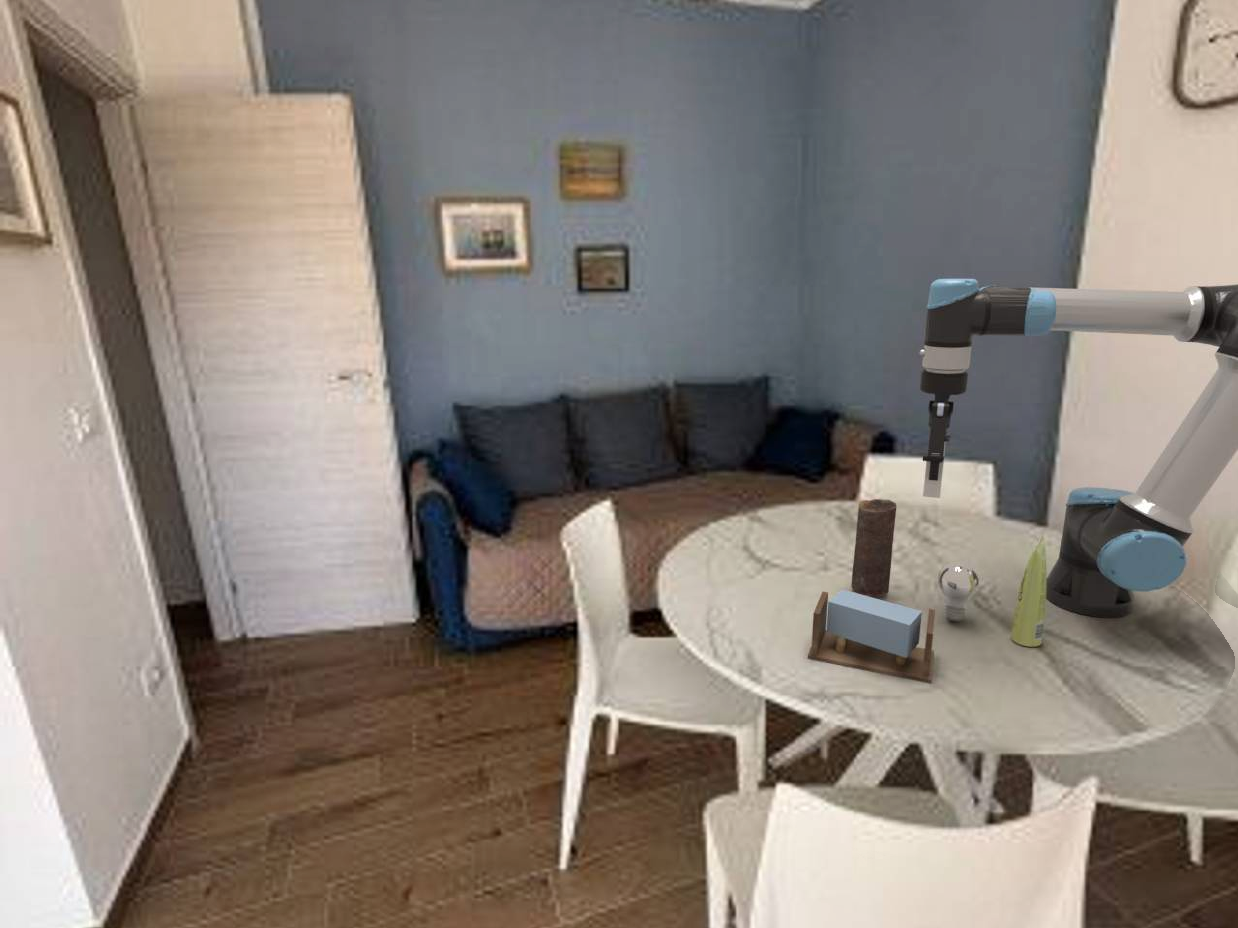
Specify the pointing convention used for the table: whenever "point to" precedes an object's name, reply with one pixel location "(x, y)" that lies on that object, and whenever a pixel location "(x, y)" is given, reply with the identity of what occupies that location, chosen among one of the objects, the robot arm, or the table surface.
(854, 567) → the brown rusty cylinder
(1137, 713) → the table surface
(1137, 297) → the robot arm
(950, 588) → the light bulb
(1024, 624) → the tube
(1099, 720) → the table surface
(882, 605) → the block
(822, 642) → the peg stand
